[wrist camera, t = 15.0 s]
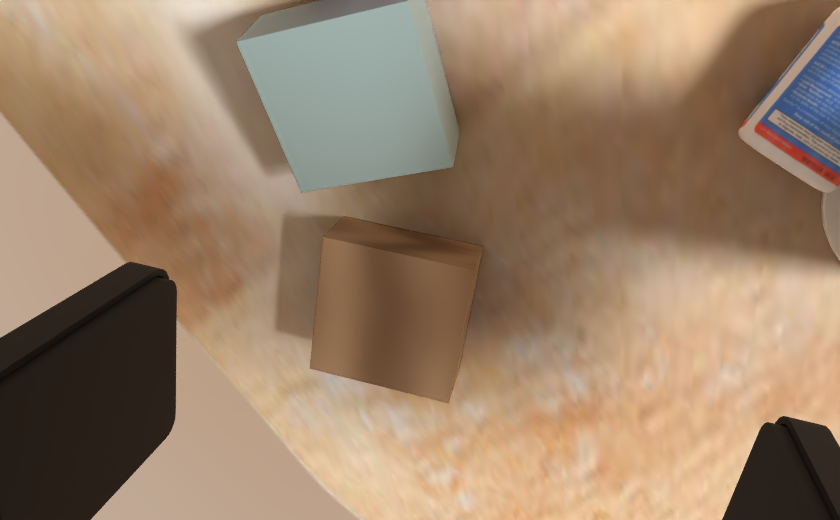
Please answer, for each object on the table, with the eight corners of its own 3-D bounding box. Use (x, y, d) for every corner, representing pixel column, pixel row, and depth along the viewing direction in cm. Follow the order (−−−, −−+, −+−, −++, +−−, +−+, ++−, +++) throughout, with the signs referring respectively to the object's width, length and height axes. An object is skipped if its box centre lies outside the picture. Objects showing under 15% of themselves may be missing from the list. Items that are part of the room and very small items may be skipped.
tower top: (419, -25, 34) (407, 0, 31) (459, 132, 40) (453, 167, 37) (261, 14, 37) (236, 41, 34) (318, 157, 42) (301, 192, 39)
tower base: (483, 246, 42) (474, 270, 38) (458, 370, 45) (448, 403, 42) (344, 216, 43) (322, 236, 39) (330, 339, 47) (309, 368, 43)
